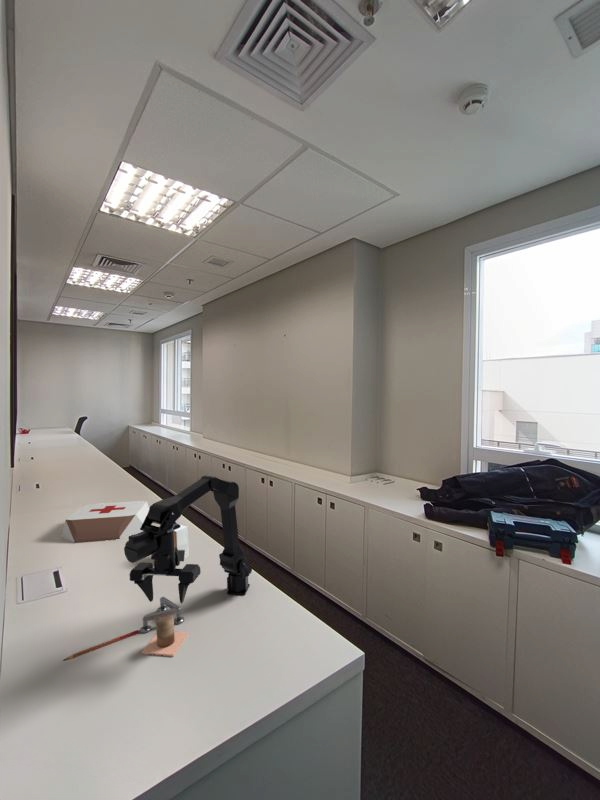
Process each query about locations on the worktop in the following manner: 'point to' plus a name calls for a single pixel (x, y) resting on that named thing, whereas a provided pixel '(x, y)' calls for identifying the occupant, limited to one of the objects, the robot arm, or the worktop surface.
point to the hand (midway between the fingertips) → (166, 601)
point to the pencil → (102, 645)
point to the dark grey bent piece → (162, 614)
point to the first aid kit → (105, 521)
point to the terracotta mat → (166, 651)
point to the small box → (181, 539)
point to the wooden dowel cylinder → (165, 631)
